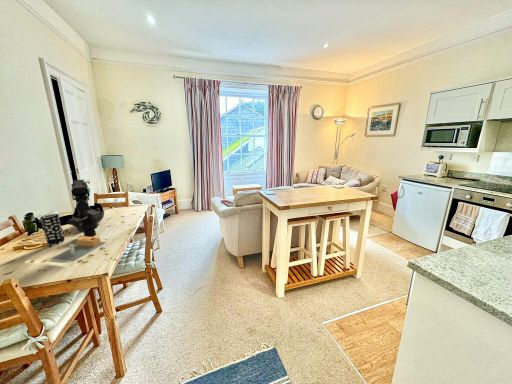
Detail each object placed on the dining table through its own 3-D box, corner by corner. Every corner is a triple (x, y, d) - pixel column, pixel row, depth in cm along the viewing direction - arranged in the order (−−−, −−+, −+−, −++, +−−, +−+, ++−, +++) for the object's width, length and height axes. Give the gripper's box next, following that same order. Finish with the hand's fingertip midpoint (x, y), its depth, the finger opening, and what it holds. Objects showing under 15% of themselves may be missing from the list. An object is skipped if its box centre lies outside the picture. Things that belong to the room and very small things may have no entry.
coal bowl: (69, 227, 164) (63, 205, 159) (96, 218, 182) (92, 198, 177) (85, 232, 157) (80, 208, 152) (111, 222, 175) (107, 200, 170)
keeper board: (50, 261, 120) (46, 246, 118) (86, 242, 141) (83, 230, 139) (74, 263, 118) (71, 249, 115) (107, 244, 139) (104, 231, 136)
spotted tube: (68, 242, 141) (61, 214, 136) (53, 248, 134) (45, 219, 129) (60, 240, 144) (53, 213, 139) (45, 246, 136) (37, 217, 131)
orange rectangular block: (77, 245, 134) (76, 239, 133) (84, 241, 139) (83, 236, 138) (94, 246, 133) (92, 241, 132) (100, 243, 137) (99, 237, 136)
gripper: (81, 212, 121) (86, 236, 125) (106, 202, 139) (110, 223, 143) (63, 211, 122) (69, 235, 126) (91, 201, 140) (95, 223, 144)
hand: (88, 229), depth 135 cm, fingers open, 9 cm apart
